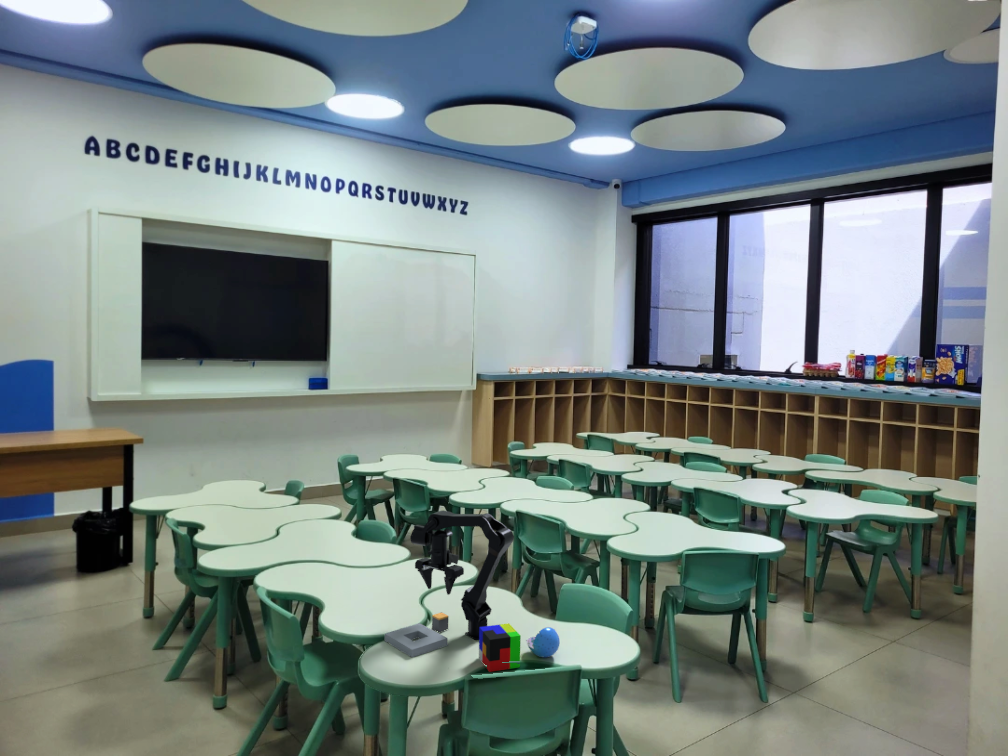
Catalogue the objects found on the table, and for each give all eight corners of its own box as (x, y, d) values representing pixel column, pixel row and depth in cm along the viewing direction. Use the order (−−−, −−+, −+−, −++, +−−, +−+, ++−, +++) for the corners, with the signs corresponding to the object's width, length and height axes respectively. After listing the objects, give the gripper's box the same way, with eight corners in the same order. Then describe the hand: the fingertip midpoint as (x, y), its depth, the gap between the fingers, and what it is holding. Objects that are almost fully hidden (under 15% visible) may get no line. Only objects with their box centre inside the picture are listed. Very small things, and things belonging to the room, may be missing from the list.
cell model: (543, 645, 233) (544, 616, 232) (565, 659, 222) (566, 629, 222) (518, 651, 227) (519, 622, 227) (540, 666, 217) (541, 636, 217)
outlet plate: (447, 645, 231) (447, 638, 231) (411, 657, 221) (412, 649, 221) (419, 630, 243) (419, 623, 242) (384, 640, 233) (384, 633, 233)
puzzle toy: (478, 658, 222) (479, 627, 222) (508, 653, 226) (508, 623, 225) (489, 672, 213) (489, 639, 212) (519, 667, 216) (520, 635, 216)
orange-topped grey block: (448, 629, 243) (448, 615, 243) (438, 632, 241) (439, 618, 240) (441, 626, 246) (441, 612, 246) (432, 629, 244) (432, 615, 243)
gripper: (474, 547, 246) (474, 591, 247) (435, 538, 258) (435, 580, 258) (452, 554, 237) (452, 599, 238) (413, 544, 249) (414, 588, 250)
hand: (439, 591), depth 246 cm, fingers open, 9 cm apart
